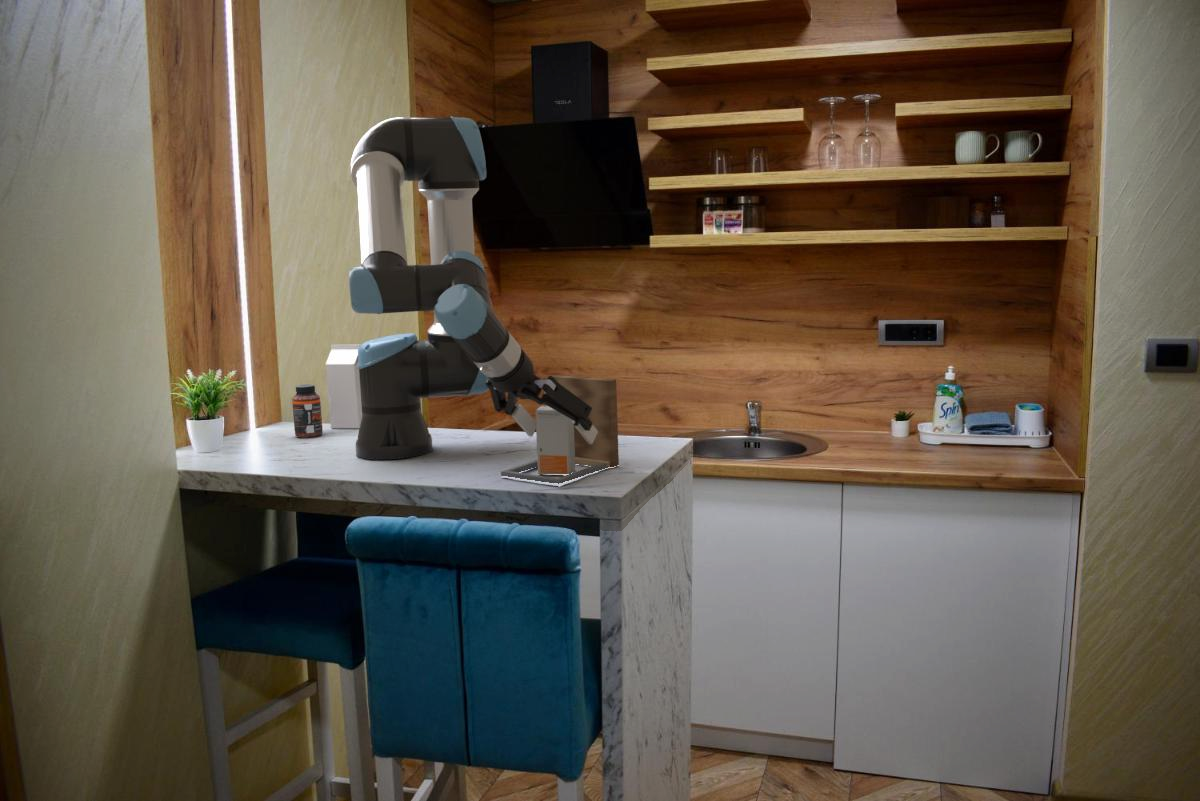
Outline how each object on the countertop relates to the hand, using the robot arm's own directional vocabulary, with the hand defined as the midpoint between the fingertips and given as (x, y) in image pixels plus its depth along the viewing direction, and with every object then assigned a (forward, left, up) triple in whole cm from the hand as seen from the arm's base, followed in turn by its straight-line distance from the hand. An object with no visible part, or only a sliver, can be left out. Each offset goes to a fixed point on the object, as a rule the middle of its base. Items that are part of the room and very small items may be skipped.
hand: (562, 434), depth 167 cm
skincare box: (0, -2, -7) cm, 7 cm away
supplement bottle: (-70, -2, -7) cm, 70 cm away
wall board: (0, +6, -7) cm, 9 cm away
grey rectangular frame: (0, -2, -7) cm, 7 cm away
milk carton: (-70, +10, -7) cm, 71 cm away
